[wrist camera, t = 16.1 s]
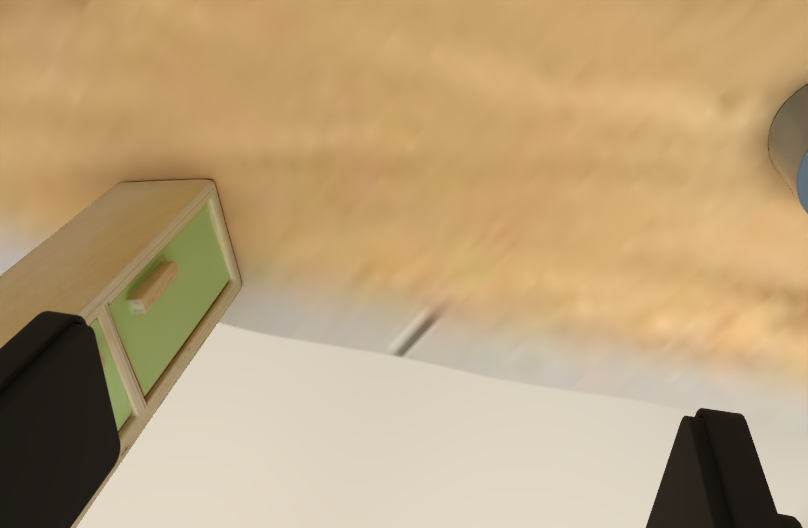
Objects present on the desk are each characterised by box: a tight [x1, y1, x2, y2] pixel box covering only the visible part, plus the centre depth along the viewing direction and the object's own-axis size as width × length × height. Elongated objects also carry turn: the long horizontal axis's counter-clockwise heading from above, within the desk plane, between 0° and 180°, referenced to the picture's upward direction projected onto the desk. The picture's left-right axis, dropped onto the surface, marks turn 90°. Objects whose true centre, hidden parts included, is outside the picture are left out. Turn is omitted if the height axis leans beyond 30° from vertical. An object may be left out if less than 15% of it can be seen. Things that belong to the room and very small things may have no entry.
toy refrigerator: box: [0, 179, 242, 528], centre depth 36 cm, size 8×7×21 cm
